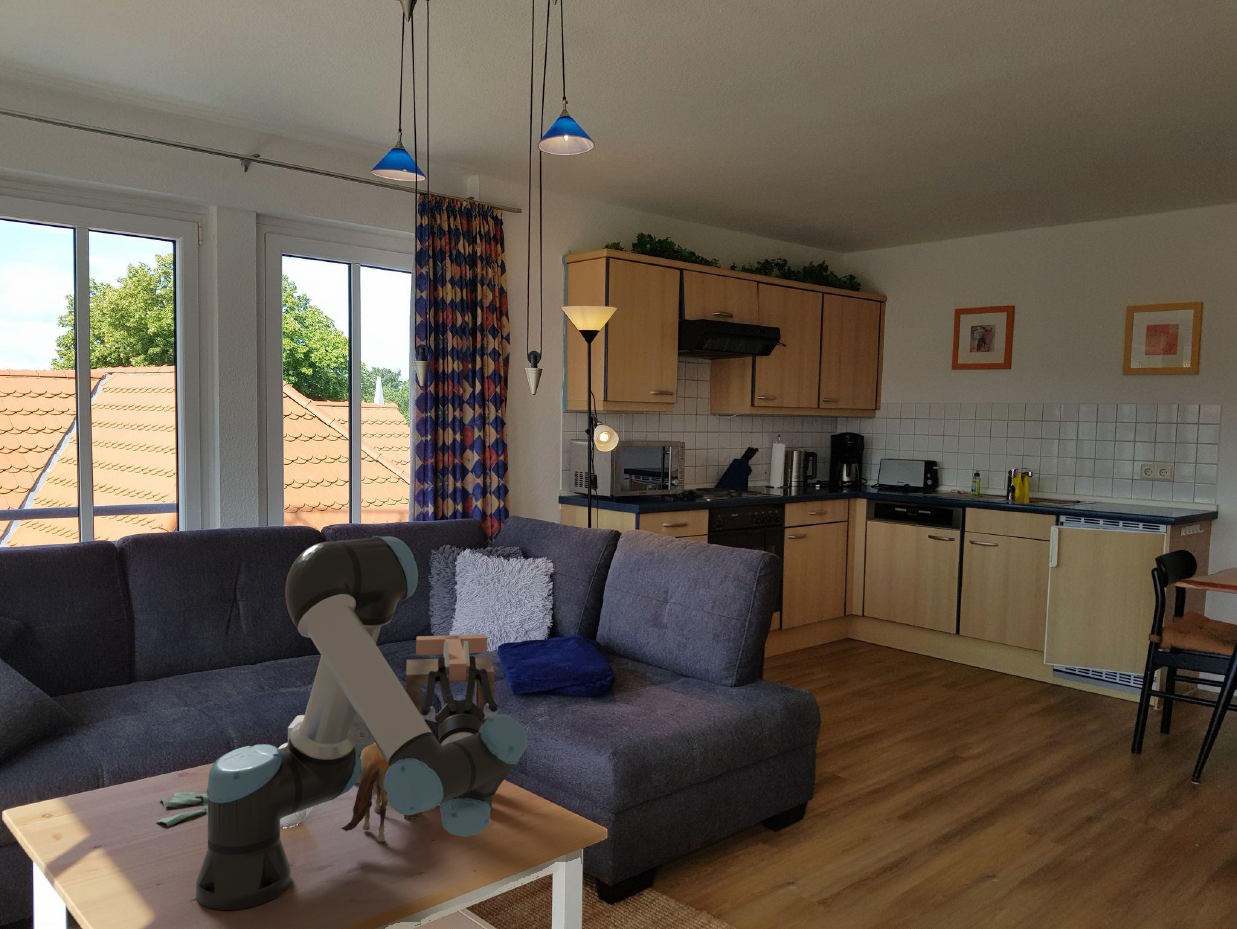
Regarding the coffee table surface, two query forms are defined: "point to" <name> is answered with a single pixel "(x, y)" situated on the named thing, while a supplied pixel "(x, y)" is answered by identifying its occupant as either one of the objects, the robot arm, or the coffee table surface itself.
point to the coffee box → (361, 737)
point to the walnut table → (419, 675)
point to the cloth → (182, 802)
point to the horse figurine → (370, 790)
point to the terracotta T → (452, 650)
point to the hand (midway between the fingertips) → (455, 646)
